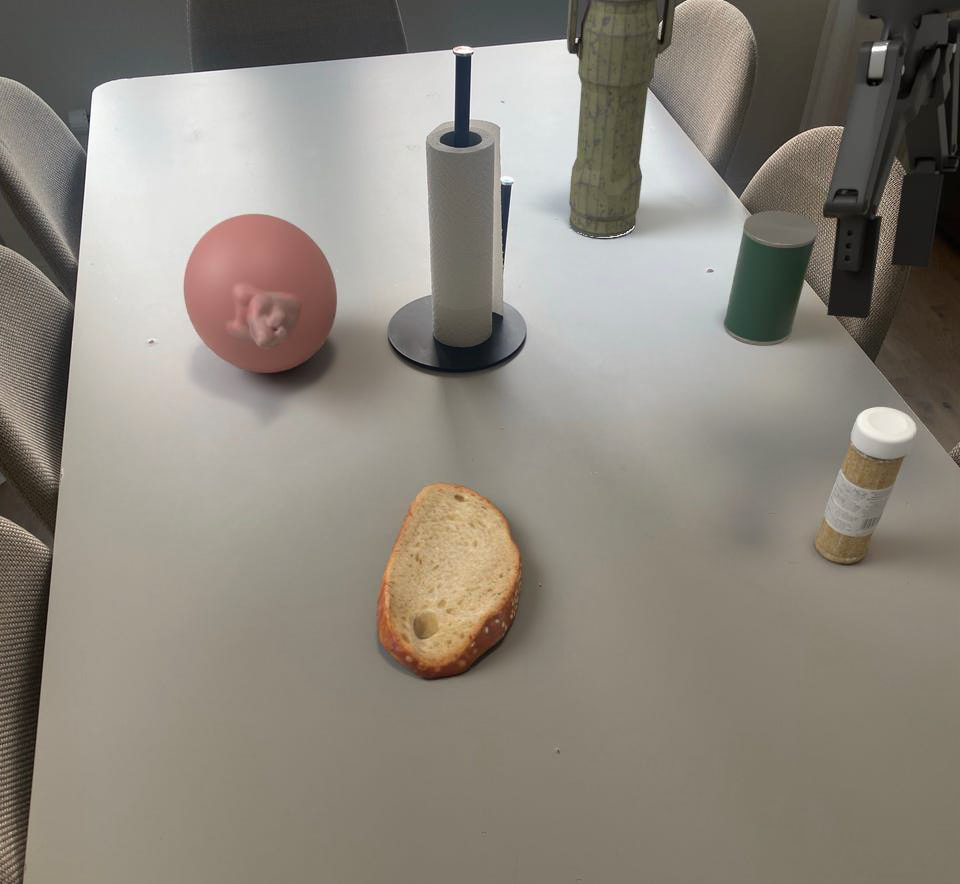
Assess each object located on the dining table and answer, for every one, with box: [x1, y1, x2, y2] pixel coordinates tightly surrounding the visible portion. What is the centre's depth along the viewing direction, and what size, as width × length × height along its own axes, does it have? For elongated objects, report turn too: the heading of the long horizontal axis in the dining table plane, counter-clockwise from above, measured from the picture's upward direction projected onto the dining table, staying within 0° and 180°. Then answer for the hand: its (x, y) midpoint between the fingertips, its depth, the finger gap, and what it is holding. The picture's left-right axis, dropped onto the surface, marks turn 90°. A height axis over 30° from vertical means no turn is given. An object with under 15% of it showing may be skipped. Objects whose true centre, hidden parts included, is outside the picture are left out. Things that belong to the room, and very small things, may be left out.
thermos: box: [566, 0, 677, 237], centre depth 110 cm, size 9×12×35 cm
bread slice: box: [376, 482, 523, 680], centre depth 79 cm, size 18×18×4 cm
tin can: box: [723, 210, 819, 346], centre depth 102 cm, size 8×8×12 cm
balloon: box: [183, 213, 338, 374], centre depth 96 cm, size 15×20×15 cm
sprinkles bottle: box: [814, 406, 918, 565], centre depth 78 cm, size 5×5×13 cm
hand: (881, 289), depth 71 cm, fingers open, 13 cm apart
